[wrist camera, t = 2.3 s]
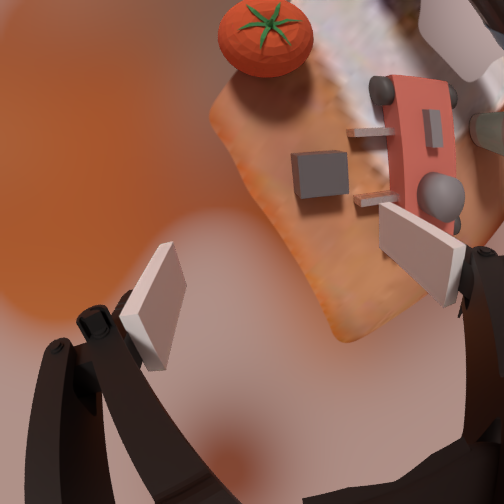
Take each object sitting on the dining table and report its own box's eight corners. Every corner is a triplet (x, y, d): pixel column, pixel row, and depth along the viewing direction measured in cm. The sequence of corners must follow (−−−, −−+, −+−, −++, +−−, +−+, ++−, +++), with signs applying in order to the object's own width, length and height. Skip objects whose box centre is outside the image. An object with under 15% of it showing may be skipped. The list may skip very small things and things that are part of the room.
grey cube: (290, 153, 33) (297, 155, 30) (335, 150, 33) (346, 152, 30) (294, 191, 35) (301, 198, 32) (337, 187, 35) (349, 193, 32)
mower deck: (366, 78, 29) (397, 68, 22) (438, 84, 29) (473, 81, 22) (381, 243, 39) (408, 267, 32) (445, 229, 39) (475, 248, 31)
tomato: (265, 3, 25) (276, -34, 16) (318, 56, 28) (347, 32, 19) (202, 45, 27) (191, 14, 18) (257, 100, 30) (266, 86, 21)
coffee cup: (480, 163, 34) (530, 179, 23) (457, 129, 32) (512, 137, 21) (496, 131, 32) (543, 140, 21) (474, 96, 30) (525, 98, 19)
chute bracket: (346, 129, 32) (354, 129, 30) (385, 127, 32) (394, 127, 30) (353, 202, 36) (361, 207, 34) (390, 196, 36) (399, 201, 34)
